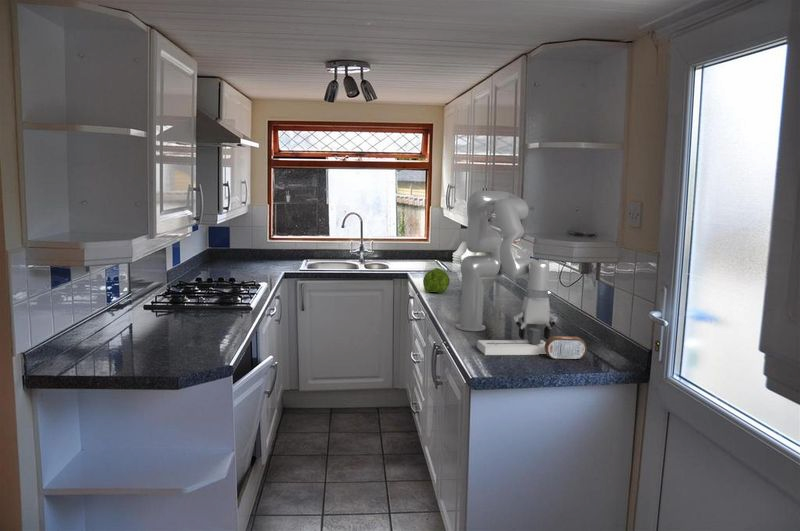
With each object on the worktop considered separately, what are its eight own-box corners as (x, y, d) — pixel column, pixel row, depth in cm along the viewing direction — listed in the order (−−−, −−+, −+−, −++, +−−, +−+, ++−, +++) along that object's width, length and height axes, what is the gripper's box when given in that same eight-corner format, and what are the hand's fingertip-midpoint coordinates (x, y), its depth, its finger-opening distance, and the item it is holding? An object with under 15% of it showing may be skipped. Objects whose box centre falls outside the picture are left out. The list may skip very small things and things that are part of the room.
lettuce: (424, 288, 384) (449, 292, 383) (420, 292, 360) (447, 296, 358) (428, 264, 383) (453, 268, 382) (424, 266, 359) (451, 270, 358)
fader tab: (527, 340, 248) (528, 327, 247) (535, 340, 248) (535, 327, 247) (532, 344, 243) (533, 331, 242) (540, 344, 243) (540, 331, 243)
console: (477, 347, 247) (477, 339, 247) (541, 347, 252) (542, 339, 251) (485, 355, 237) (485, 346, 237) (552, 354, 242) (552, 346, 242)
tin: (584, 358, 238) (585, 336, 237) (586, 361, 235) (588, 338, 234) (543, 357, 238) (545, 335, 237) (545, 359, 235) (547, 337, 234)
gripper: (554, 292, 248) (551, 336, 250) (511, 292, 245) (508, 336, 247) (563, 296, 241) (559, 341, 243) (518, 295, 238) (515, 341, 240)
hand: (534, 338), depth 245 cm, fingers open, 9 cm apart
